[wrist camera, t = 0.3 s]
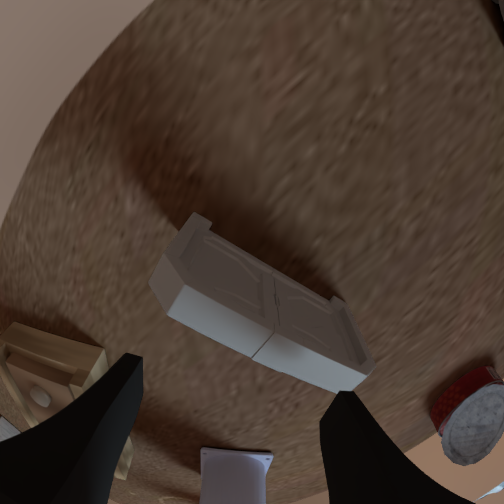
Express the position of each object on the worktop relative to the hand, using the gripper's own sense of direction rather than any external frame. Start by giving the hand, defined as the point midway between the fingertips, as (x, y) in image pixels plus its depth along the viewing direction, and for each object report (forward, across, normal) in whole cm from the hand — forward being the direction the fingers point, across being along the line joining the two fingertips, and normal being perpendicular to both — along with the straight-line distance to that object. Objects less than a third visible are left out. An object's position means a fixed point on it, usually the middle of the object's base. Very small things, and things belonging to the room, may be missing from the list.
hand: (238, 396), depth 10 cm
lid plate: (+7, +15, +16) cm, 23 cm away
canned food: (+10, -29, +11) cm, 32 cm away
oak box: (+10, +15, +19) cm, 26 cm away
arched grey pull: (+10, -2, 0) cm, 10 cm away
